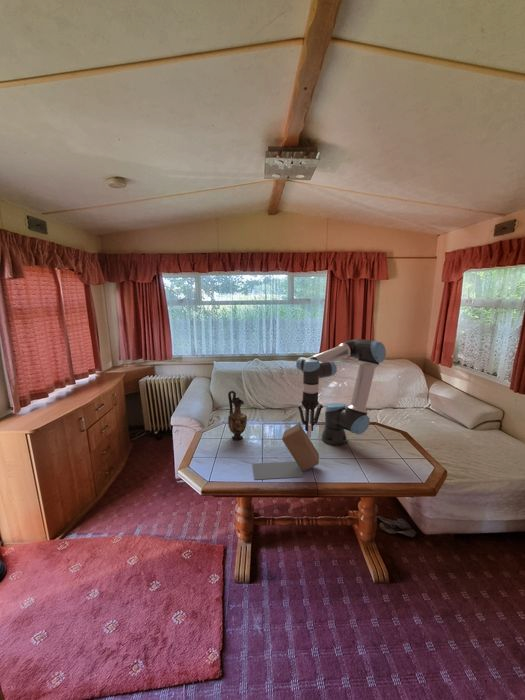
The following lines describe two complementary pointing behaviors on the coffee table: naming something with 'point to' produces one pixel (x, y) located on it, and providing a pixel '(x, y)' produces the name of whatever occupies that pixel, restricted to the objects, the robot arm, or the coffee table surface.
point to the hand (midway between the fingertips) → (308, 436)
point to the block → (300, 447)
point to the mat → (276, 470)
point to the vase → (236, 417)
